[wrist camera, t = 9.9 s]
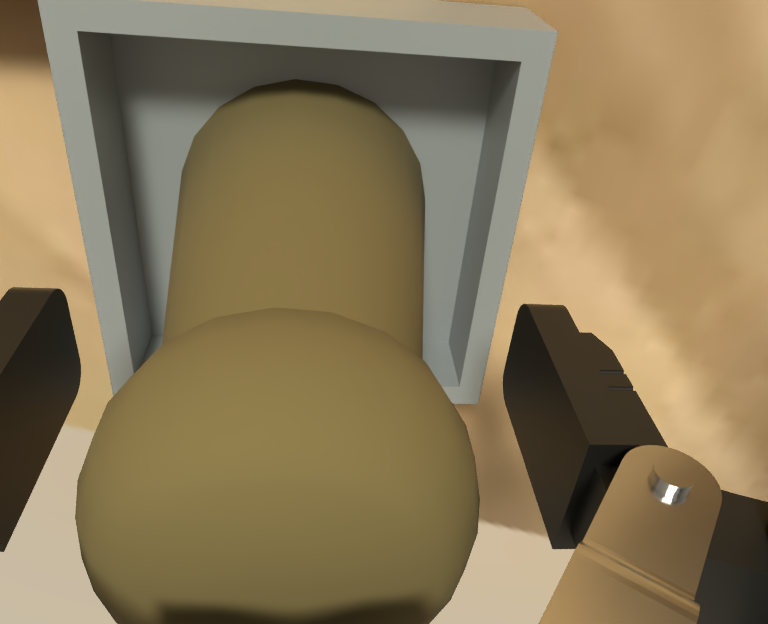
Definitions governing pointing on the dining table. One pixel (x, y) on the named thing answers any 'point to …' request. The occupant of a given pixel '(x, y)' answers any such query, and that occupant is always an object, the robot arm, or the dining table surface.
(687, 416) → the dining table surface
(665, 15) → the dining table surface
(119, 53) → the grey tray
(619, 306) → the dining table surface
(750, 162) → the dining table surface
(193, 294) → the olive pawn
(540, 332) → the robot arm
